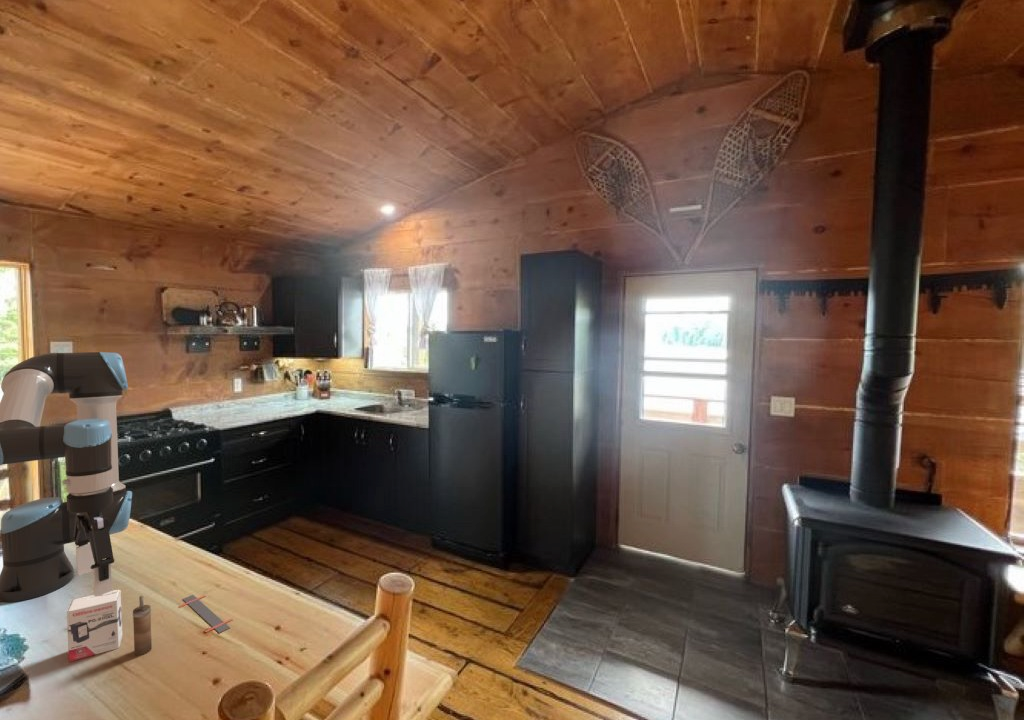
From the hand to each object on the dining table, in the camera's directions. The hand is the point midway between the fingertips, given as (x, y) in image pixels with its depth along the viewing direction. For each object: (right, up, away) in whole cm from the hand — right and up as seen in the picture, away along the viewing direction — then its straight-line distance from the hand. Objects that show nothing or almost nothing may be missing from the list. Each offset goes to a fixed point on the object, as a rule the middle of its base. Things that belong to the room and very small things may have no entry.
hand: (94, 582), depth 102 cm
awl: (+10, -16, +1) cm, 19 cm away
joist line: (+15, -15, +15) cm, 26 cm away
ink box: (-1, -16, +1) cm, 16 cm away
